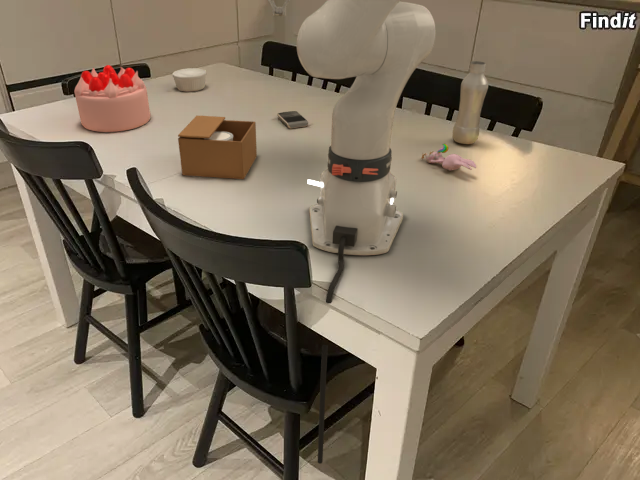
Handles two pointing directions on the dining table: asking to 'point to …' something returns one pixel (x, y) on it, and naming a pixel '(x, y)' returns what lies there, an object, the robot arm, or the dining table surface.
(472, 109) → the plastic bottle
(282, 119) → the cell phone
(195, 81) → the ramekin
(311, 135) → the dining table surface
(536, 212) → the dining table surface
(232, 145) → the carton
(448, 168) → the pink elongated figure
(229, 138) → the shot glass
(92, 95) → the cake
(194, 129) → the flap
